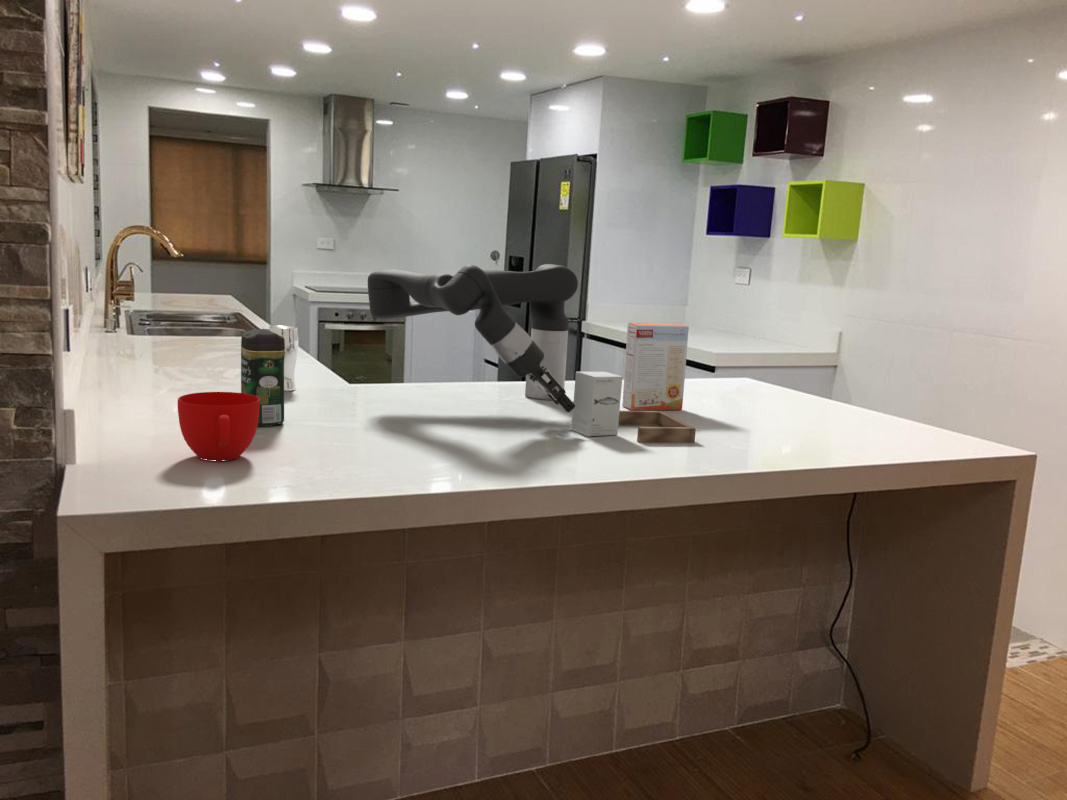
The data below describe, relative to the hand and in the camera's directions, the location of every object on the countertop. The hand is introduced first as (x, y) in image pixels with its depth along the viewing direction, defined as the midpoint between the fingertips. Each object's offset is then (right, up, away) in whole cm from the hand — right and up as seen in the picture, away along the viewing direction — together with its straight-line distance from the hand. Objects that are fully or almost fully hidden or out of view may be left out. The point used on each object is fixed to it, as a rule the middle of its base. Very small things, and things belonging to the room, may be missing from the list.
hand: (565, 405), depth 193 cm
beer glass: (-67, +4, +26) cm, 72 cm away
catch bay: (+18, -6, +2) cm, 19 cm away
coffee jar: (-61, -3, -12) cm, 62 cm away
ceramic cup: (-59, -9, -42) cm, 73 cm away
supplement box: (+6, -6, -1) cm, 8 cm away
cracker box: (+22, -1, +31) cm, 38 cm away
